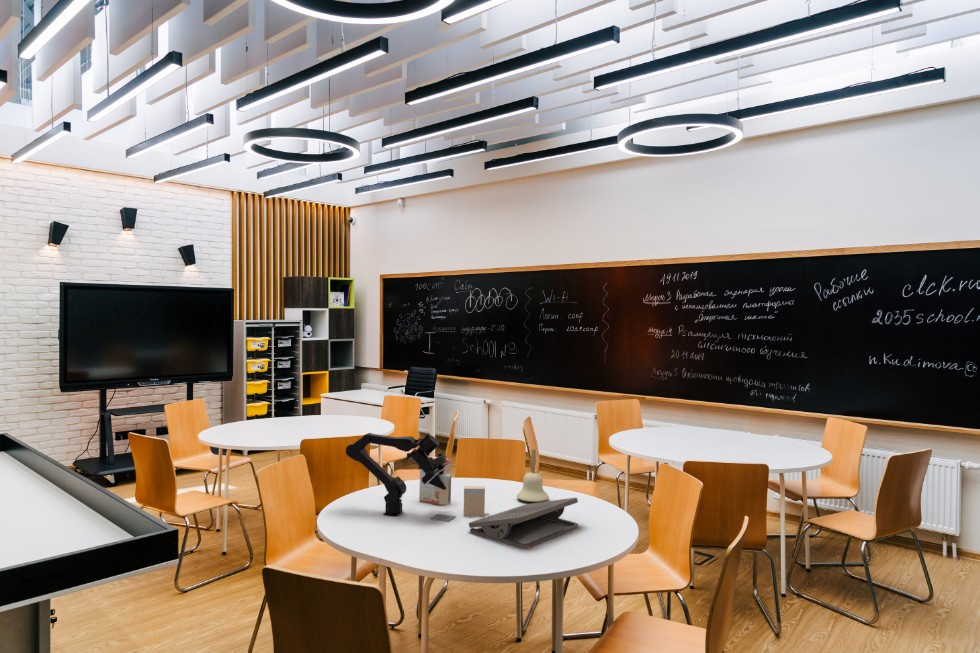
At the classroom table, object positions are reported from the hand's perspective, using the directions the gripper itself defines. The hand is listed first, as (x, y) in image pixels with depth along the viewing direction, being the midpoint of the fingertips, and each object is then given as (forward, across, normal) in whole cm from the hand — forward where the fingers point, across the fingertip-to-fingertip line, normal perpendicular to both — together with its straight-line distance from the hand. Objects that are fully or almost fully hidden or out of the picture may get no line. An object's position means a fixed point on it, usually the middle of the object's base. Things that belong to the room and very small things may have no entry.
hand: (447, 487), depth 272 cm
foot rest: (+34, -6, -15) cm, 38 cm away
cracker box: (+1, +21, +18) cm, 28 cm away
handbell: (+32, +37, -14) cm, 51 cm away
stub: (+4, 0, +5) cm, 7 cm away
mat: (+8, 0, +10) cm, 13 cm away
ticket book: (+17, +7, +2) cm, 18 cm away
